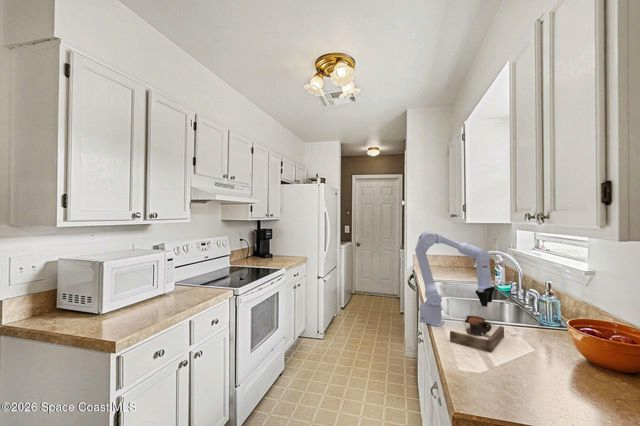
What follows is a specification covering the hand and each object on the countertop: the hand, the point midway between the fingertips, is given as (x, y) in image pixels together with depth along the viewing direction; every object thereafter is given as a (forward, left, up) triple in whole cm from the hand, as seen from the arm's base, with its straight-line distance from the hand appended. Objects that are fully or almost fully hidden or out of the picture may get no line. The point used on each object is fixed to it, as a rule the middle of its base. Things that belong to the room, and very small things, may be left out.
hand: (486, 304), depth 138 cm
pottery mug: (-1, -12, -10) cm, 16 cm away
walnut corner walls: (+1, -19, -10) cm, 22 cm away
